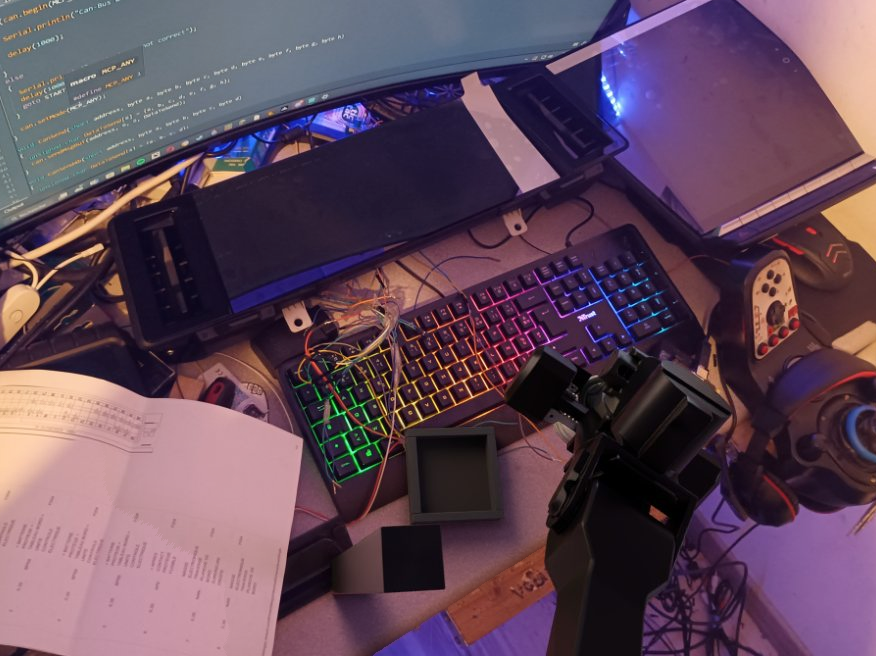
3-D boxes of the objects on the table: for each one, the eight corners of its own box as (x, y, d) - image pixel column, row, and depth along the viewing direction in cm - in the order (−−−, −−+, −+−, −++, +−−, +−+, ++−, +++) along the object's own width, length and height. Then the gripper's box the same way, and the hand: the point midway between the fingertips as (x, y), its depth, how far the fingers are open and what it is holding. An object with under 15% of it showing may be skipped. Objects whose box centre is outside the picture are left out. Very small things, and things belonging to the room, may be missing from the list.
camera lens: (537, 411, 76) (564, 391, 69) (582, 383, 78) (612, 360, 71) (573, 463, 74) (604, 448, 67) (617, 432, 76) (652, 415, 69)
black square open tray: (498, 521, 73) (505, 518, 71) (409, 525, 72) (413, 523, 70) (488, 431, 77) (494, 426, 75) (403, 433, 75) (407, 428, 73)
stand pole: (363, 592, 69) (445, 589, 34) (331, 594, 68) (383, 593, 34) (361, 558, 70) (440, 523, 36) (331, 560, 70) (380, 526, 35)
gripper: (785, 466, 52) (747, 388, 67) (567, 323, 55) (576, 277, 69) (688, 567, 56) (672, 473, 71) (488, 429, 59) (512, 365, 73)
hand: (609, 395), depth 71 cm, fingers closed on camera lens, 6 cm apart
